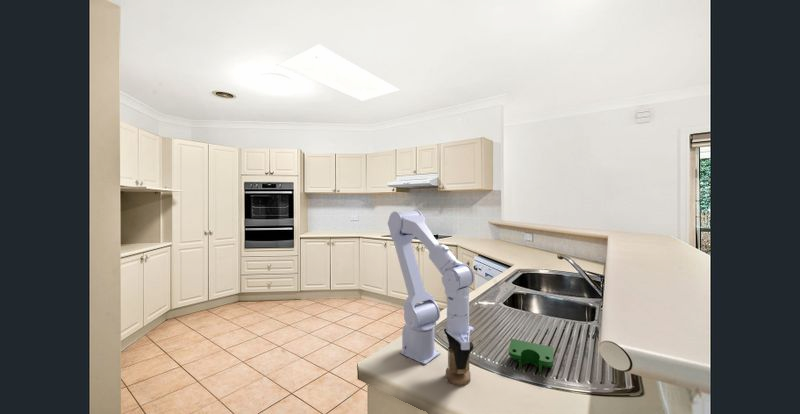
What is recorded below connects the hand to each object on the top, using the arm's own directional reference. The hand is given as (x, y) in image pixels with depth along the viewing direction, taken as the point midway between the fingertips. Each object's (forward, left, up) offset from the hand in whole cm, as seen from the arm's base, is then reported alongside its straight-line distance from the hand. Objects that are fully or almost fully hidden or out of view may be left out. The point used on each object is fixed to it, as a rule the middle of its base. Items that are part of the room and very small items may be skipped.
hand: (458, 362), depth 80 cm
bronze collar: (0, 0, -2) cm, 2 cm away
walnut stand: (0, 0, -4) cm, 4 cm away
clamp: (+13, +18, -5) cm, 22 cm away
